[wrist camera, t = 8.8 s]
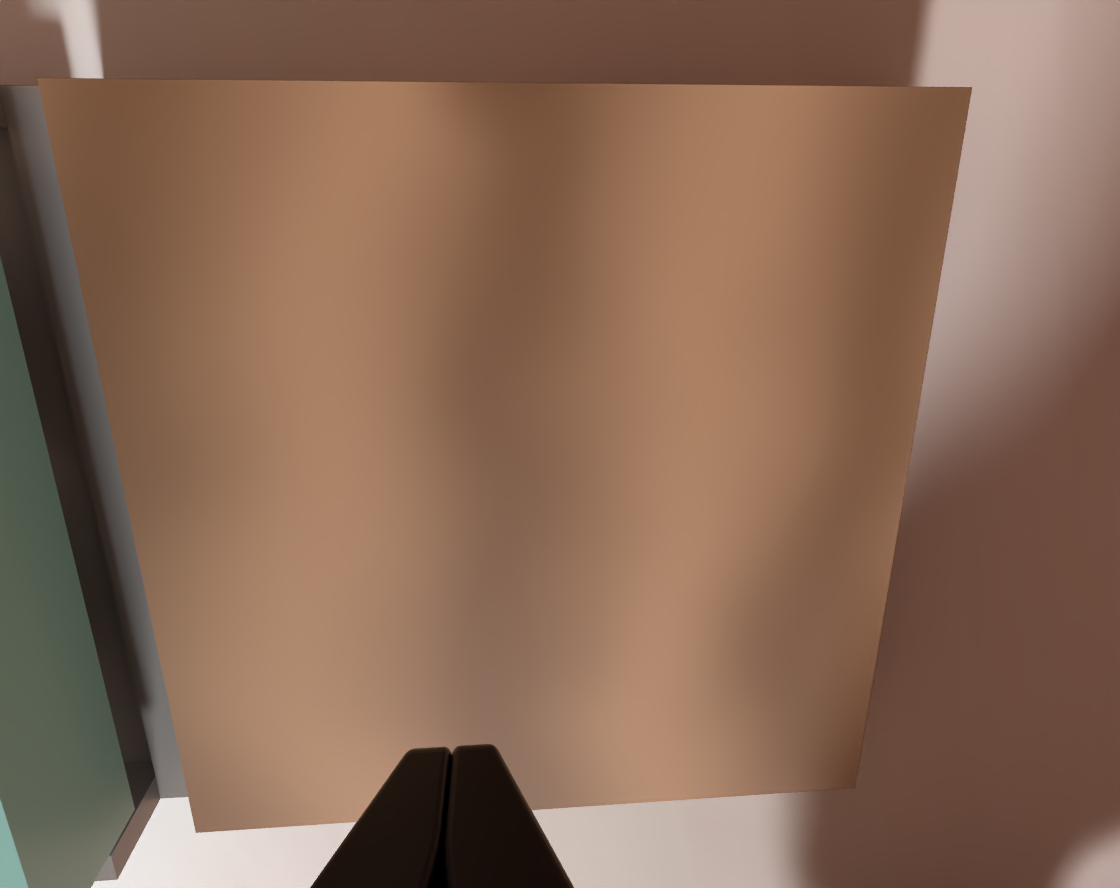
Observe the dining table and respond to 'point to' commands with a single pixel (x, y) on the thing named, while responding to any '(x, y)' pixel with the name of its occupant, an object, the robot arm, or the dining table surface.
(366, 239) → the walnut board
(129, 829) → the box
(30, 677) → the long mint beam
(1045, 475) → the dining table surface
